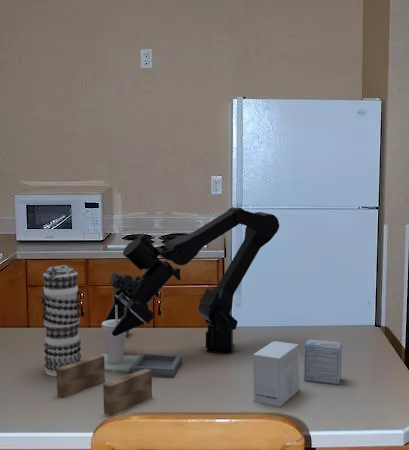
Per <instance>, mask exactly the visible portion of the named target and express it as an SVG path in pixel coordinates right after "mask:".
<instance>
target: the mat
mask: <svg viewBox="0 0 409 450" xmlns="http://www.w3.org/2000/svg"><path fill="white" fill-rule="evenodd" d="M100 355H103V356H104V365H105V372H120V373H123V372H124V373H131V367H132V365H133V364H134V363H135V362H136V360H137V359H138V358H139V356H140V355H128V354H127V355H125V354H124V356H123V362H121V363H116V364H113V363H109V362H108V359H107V353H101V354H100Z"/></svg>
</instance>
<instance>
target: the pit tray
mask: <svg viewBox="0 0 409 450" xmlns="http://www.w3.org/2000/svg"><path fill="white" fill-rule="evenodd" d="M138 356H139V358H138V359H137V360H136V362H135V363H134V364H133V365H132V367H131V371H130V374H132V373H135V372H138V371H140V370H143V369H145V368H146V369H149V370H152V378H154V377H155V378H174V377H175V376H176V374H177V372H178V371H179V369H180V367H181V365H182V360H183V359H182V357H183V356H182V355H179V354H161V353H141V354H140V355H138Z"/></svg>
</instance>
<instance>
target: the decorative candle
mask: <svg viewBox="0 0 409 450" xmlns="http://www.w3.org/2000/svg"><path fill="white" fill-rule="evenodd" d="M78 274H79V272H78V271H76V270H75V269H74V267H73V266H71V265H64V264H63V265H62V264H61V265H53V266H50V267H48V268H47V269H46V270H45V272H44V273H42V276H43V282H44V283H43V284H44V286H43V290H42V291H41V293H40V297H41V304H42V306H43V307H41V308H42V310H41V311H42V319H43V325H44V326H45V336H44V337H45V341H44V344H43V346H44V347H45V349H44V353H45V354H46V355H45V356H44V359H43V360H44V361H45V363H44V368H45V374H46V375H48V376H51V377H57V371H56V369H57V368H60V367H63V366H66V365H69V364H72V363H75V362H77V361H80V360H82V359H81V358H82V354H81V353H80V352H81V346H80V345H81V343H82V341H81V340H80V333H79V323H81V319H80V317H81V313H80V312H79V311H78V310H80V309H81V304H79V303H81V298H79V297H77V296H78V295H80V294H82V291H81V290H80V289H79V288H78V287H79V285H78V284H77V283H78V281H77V280H78V278H77V275H78Z"/></svg>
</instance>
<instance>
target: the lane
mask: <svg viewBox="0 0 409 450" xmlns="http://www.w3.org/2000/svg"><path fill="white" fill-rule="evenodd" d="M56 371H57V376H56V392H57V393H56V396H58V397H61V398H65V397H67V396H71V395H73V394H75V393H79V392H81V391H84V390H86V389H88V388H91V387H94V386H97V385H100V384H102V383H104V382H106V380H105V379H106V375H105V374H106V373H105V372H106V371H105V365H104V356H103V355H101V354H96V355H93V356H90V357H87V358H84V359H80V361H77V362H75V363H72V364H69V365H66V366H63V367H60V368H57V369H56ZM152 378H153V377H152V370H149V369H146V368H145V369H143V370H140V371H138V372H135V373H132V374H131V373H130V374H127V375H125V376H122V377H119V378H117V379H115V380H112V381H109V382H107V383H104V384H103V386H102V387H103V389H102V391H103V414H105V415H107V416H113V415H115V414H118V413H121V412H123V411H124V410H127V409H130V408H132V407H133V406H136V405H138V404H140V403H143V402H144V401H147V400H149V399H152V398H153V379H152Z"/></svg>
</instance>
